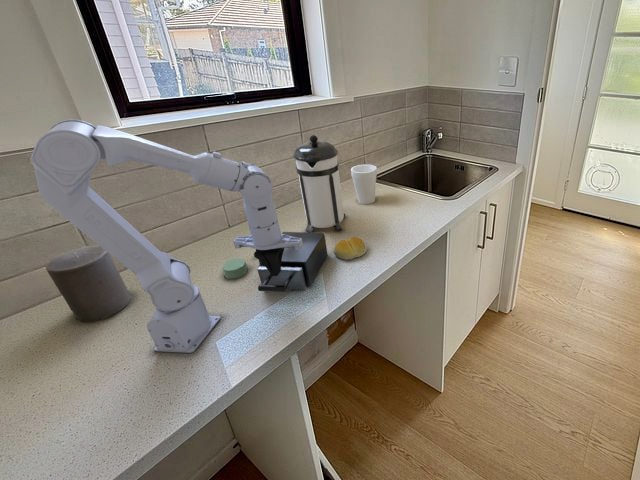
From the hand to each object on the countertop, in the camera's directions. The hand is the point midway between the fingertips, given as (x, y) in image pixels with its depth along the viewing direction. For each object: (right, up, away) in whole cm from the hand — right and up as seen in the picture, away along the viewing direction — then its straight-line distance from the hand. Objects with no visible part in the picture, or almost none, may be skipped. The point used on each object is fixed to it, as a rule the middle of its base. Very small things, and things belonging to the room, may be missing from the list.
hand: (276, 273), depth 77 cm
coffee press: (+1, +10, +36) cm, 37 cm away
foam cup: (+12, +18, +51) cm, 55 cm away
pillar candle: (-39, -8, 0) cm, 40 cm away
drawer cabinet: (0, -1, +12) cm, 12 cm away
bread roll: (+13, +2, +20) cm, 24 cm away
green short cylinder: (-16, -2, +11) cm, 19 cm away
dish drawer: (0, -3, +7) cm, 8 cm away
